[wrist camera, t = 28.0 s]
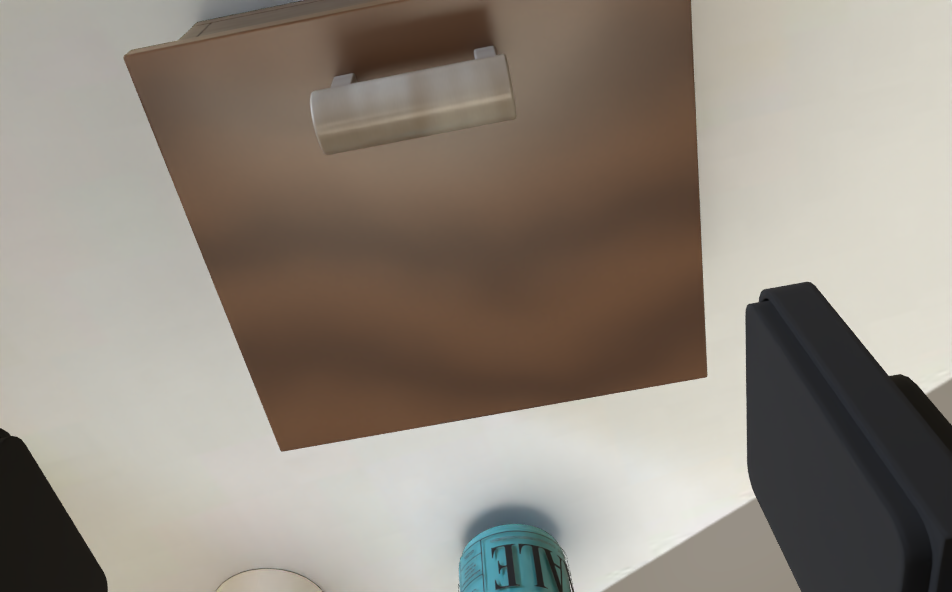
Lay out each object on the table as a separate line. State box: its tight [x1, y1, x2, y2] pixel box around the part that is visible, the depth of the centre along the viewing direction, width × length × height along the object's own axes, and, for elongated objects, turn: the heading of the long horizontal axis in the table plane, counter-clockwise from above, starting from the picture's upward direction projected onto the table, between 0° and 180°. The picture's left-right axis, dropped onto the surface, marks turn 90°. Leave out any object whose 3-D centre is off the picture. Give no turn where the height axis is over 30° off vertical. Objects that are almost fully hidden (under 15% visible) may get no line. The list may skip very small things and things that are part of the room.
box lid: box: [123, 0, 707, 451], centre depth 27 cm, size 16×18×5 cm
